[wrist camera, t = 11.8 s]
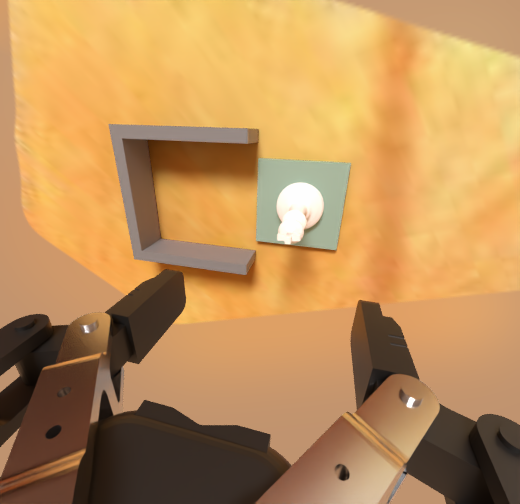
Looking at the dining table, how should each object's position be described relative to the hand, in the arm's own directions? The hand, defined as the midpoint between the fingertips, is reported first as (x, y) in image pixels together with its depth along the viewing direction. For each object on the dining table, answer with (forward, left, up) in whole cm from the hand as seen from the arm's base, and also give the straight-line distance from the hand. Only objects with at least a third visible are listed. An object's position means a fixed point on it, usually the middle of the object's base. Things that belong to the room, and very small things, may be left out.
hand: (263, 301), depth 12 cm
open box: (+11, 0, -18) cm, 21 cm away
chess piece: (0, 0, -18) cm, 18 cm away
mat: (0, 0, -18) cm, 18 cm away
